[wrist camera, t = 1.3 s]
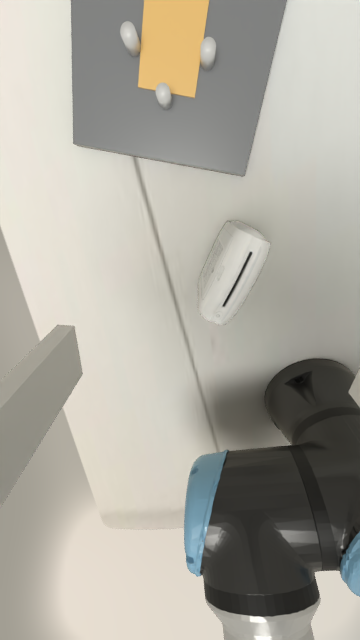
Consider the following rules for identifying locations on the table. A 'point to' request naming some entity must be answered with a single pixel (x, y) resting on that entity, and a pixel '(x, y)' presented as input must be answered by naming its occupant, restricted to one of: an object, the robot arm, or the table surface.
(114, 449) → the table surface
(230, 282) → the photo printer
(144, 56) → the pin tray
